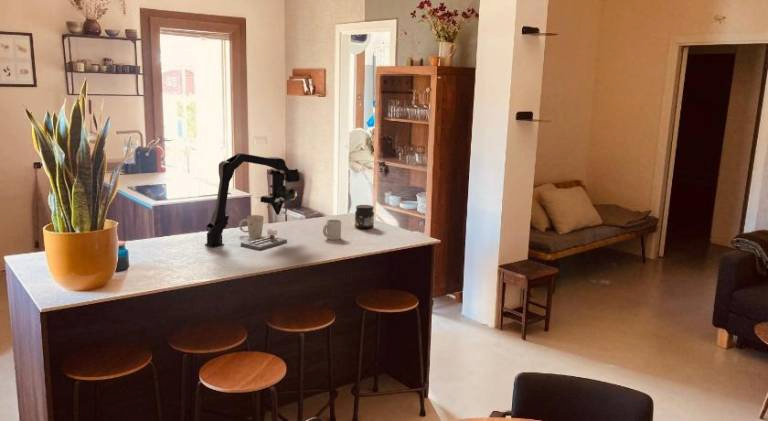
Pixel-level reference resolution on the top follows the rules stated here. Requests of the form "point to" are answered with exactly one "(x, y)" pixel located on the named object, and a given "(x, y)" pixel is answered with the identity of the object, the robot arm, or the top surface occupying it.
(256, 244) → the console board
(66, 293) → the top surface
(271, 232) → the fader tab
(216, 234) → the robot arm
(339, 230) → the cup
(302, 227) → the top surface
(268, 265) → the top surface
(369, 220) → the supplement container
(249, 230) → the mug
